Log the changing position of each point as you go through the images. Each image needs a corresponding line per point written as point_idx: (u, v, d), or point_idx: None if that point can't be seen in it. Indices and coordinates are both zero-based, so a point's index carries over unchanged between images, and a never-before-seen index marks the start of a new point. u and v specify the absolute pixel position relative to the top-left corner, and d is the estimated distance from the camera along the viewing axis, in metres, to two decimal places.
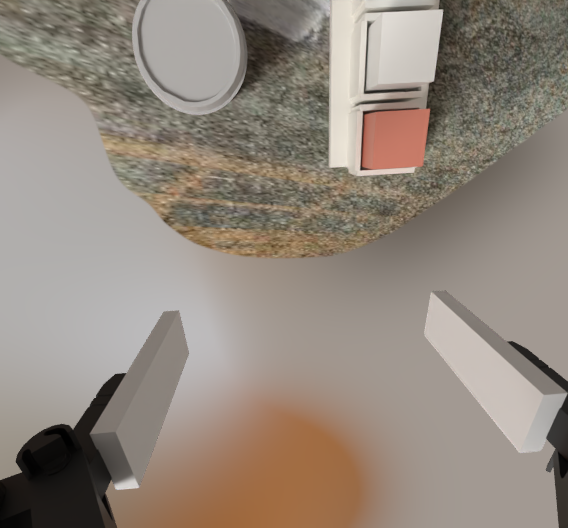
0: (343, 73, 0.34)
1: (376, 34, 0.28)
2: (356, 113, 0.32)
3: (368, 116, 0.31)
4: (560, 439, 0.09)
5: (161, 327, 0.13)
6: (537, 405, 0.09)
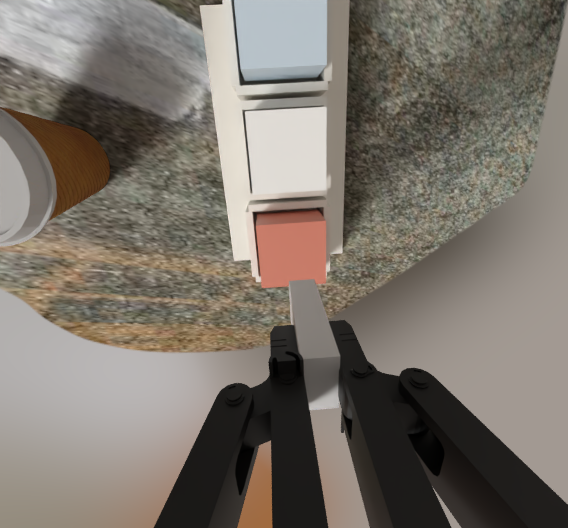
0: (235, 158, 0.27)
1: None
2: (246, 213, 0.26)
3: (257, 219, 0.25)
4: (341, 405, 0.11)
5: (296, 292, 0.15)
6: (321, 367, 0.11)
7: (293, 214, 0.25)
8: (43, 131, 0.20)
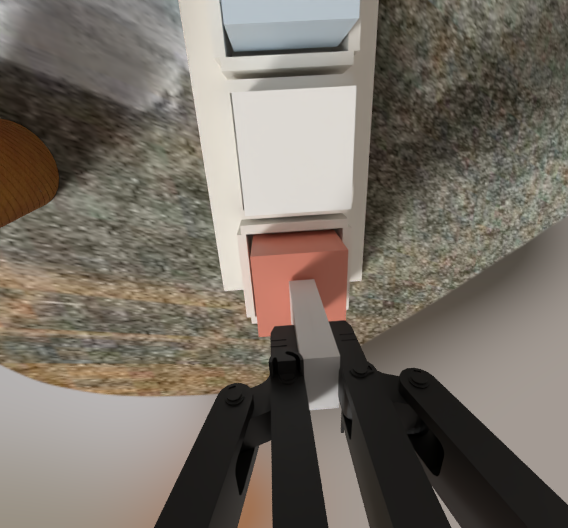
0: (224, 161, 0.21)
1: None
2: None
3: (252, 244, 0.19)
4: (341, 405, 0.11)
5: (296, 292, 0.15)
6: (320, 367, 0.11)
7: (301, 237, 0.19)
8: None
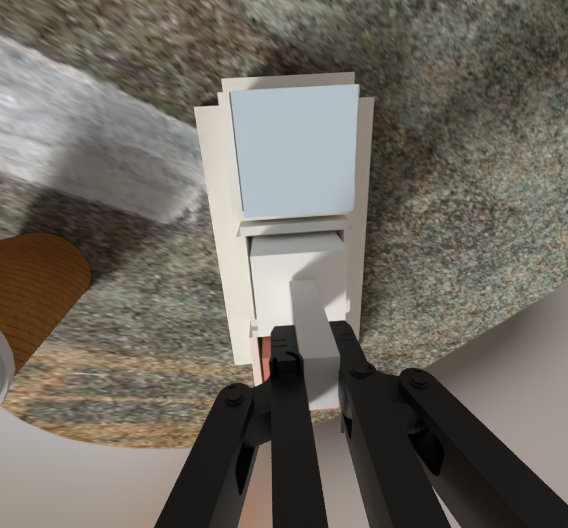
0: (237, 265, 0.23)
1: None
2: (249, 336, 0.22)
3: None
4: (341, 405, 0.11)
5: (296, 292, 0.15)
6: (320, 367, 0.11)
7: None
8: None
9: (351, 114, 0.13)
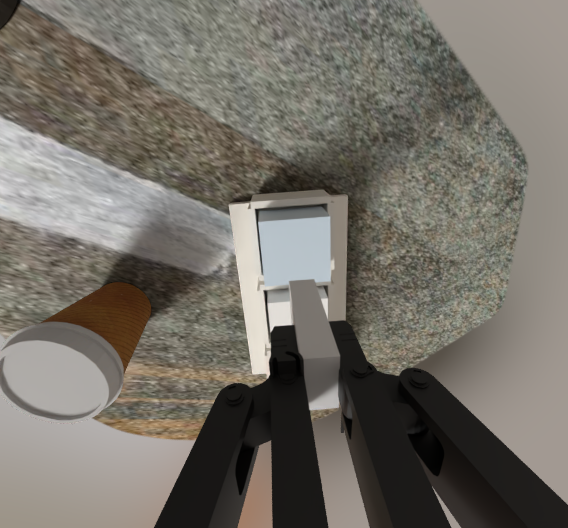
0: (255, 303, 0.33)
1: None
2: (264, 355, 0.31)
3: None
4: (341, 405, 0.11)
5: (296, 292, 0.15)
6: (321, 367, 0.11)
7: None
8: (112, 324, 0.26)
9: (327, 231, 0.23)
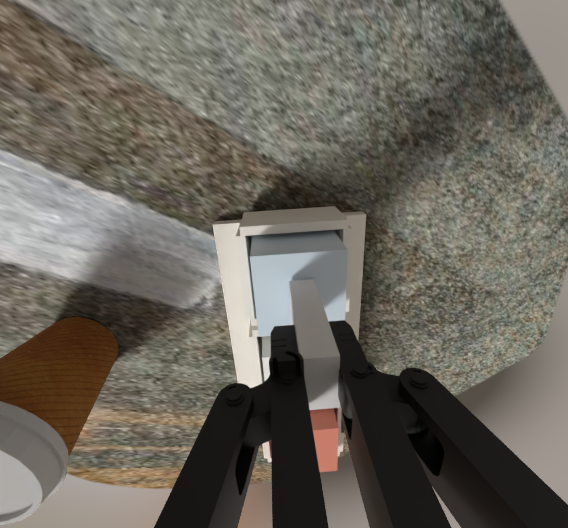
0: (247, 342, 0.27)
1: None
2: None
3: None
4: (341, 405, 0.11)
5: (296, 292, 0.15)
6: (320, 367, 0.11)
7: None
8: (54, 388, 0.19)
9: (342, 268, 0.17)
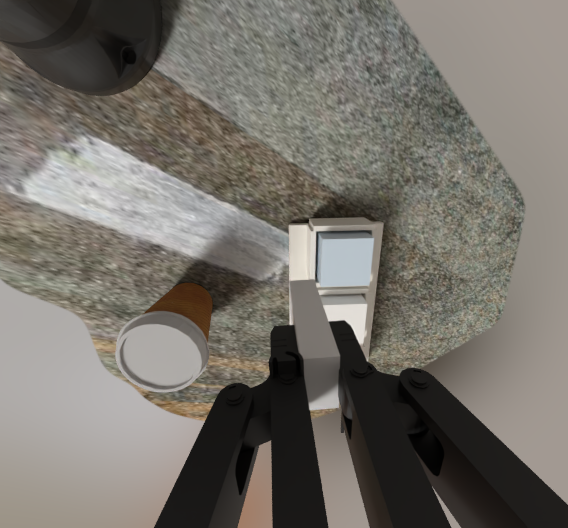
0: None
1: None
2: None
3: None
4: (341, 405, 0.11)
5: (296, 292, 0.15)
6: (320, 367, 0.11)
7: None
8: (198, 316, 0.32)
9: (370, 248, 0.31)
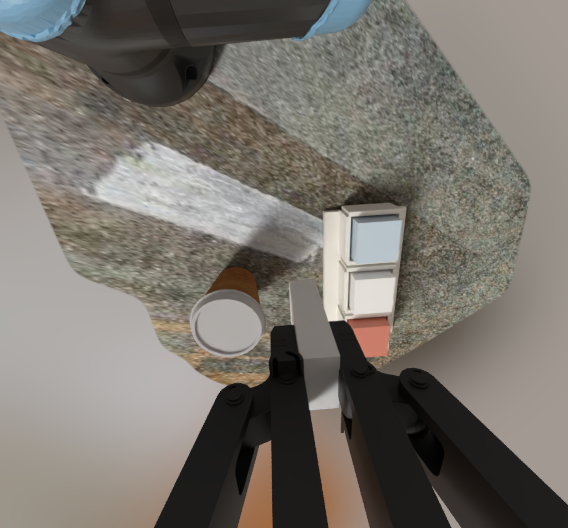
0: (333, 282, 0.46)
1: (352, 283, 0.41)
2: (342, 319, 0.44)
3: (348, 319, 0.45)
4: (341, 405, 0.11)
5: (296, 292, 0.15)
6: (321, 367, 0.11)
7: None
8: (253, 293, 0.38)
9: (399, 229, 0.36)
